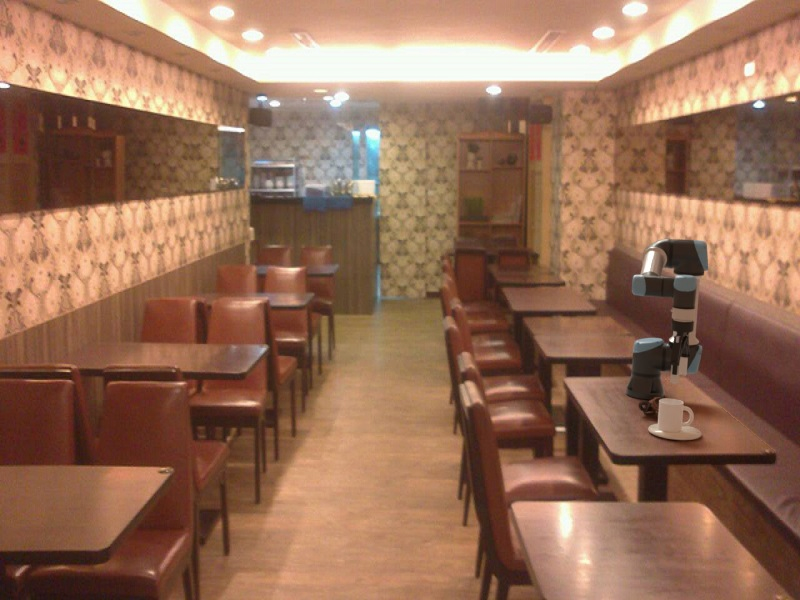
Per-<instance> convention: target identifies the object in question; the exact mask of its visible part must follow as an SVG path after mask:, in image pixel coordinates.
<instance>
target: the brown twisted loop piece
mask: <svg viewBox="0 0 800 600" xmlns="http://www.w3.org/2000/svg"><path fill="white" fill-rule="evenodd" d="M660 399H664V397H663V398H660V397H655V398H654V399H649V401H647V400H645V399H642V400H641V401H639V403H637V405H638V408H639V410H640V411H641V412H642V413H643V414H644V415H647V413H654V414H656V413H659V404H657V403H659V400H660ZM643 406H644V407H643ZM656 418H657V420H658V415H657V416H656Z"/></svg>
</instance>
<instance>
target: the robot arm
mask: <svg viewBox="0 0 800 600" xmlns="http://www.w3.org/2000/svg"><path fill="white" fill-rule="evenodd" d="M708 256H709V255H708V244H707V242H706V241H703V240H697V239H678V238H677V239H676V238H663V239H658V240H657V241H653V242H652V243H651V244H649V245H648V246H647V247H645V248H644V250H643V252H642V255H641V263H642V266H641V271H640V274H634V275H633V276H632V281H631V282H632V283H631V293H632V294H633V295H634V296H641V297H654V298H655V297H656V298H669V299H672V308H671V309H670V312H671V323H670V330H671V331H673V332H672V333H673V334H672V336H671V337H669V338H668V342H665V341H664V339H662V338H660V337H645V338H639V339H637V340H635V341H634V342H633V349H632V352H631V353H632V362H631V363H632V364H631V374H630V378H629V380H628V383H627V385H626V387H625V394H626V395H627V396H629V397H632V398H635V399H636V398H637V399H642V400H652V399H654V398H655V397H660V398H663V399H664V396H665V389H664V386H663V385H664V384H663V382H662V372H664V373H665V372H666V373H670V376H669V378H670V379H669V383H670V384H674V385H679V382H680V381H679V380H680V376H683V377H684V376H685V377H686V376H687V374H689V375H690V374H691V375H693V374H696V373H697V372H698V371H699V366H700V363H701V358H702V351H703V346H702V345H701V344H700V340H699V339H698V338H697V337H696V333H697V321H698V308H699V307H698V305H699V294H700V293H699V292H700V280H701V278H702V277H704V276H705V272H707V271H709V257H708ZM664 269H673V275H674V276H664V275H662V274H663V270H664Z"/></svg>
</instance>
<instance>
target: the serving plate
mask: <svg viewBox="0 0 800 600" xmlns="http://www.w3.org/2000/svg"><path fill="white" fill-rule="evenodd" d="M648 432H649V433H650V434H652V435H653V436H656V437H659V438H663V439H669V440H674V441H675V440H676V441H691V440H693V441H694V440H697V439H699V438H701V437H702V431H700V430H699V429H698V428H696V427H693V426H690V425H688V426H685V427H682V429H681V431H680V432H677V433H669V432H664V431H661V430H659V429H658V423H654V424H650V425H649V426H648Z"/></svg>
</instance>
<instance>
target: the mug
mask: <svg viewBox="0 0 800 600" xmlns="http://www.w3.org/2000/svg"><path fill="white" fill-rule="evenodd" d="M684 404H685V403H684V401H683V400H680V399H676V398H670V397H669V398H668V397H667V398H666V397H665V398H663V399H660V400H659V402H658V406H659V413H658V412H657V413H658V414H657V416H658V419H657V424H658V429H659V430H661V431H664V432H669V433H677V432H680V431H681V429H682V427H685V426H690V425H691V424H692V423H693V422H694V418H695V417H694V416H695V415H694V412H693V410H692V408H690V407H689V406H686V405H684ZM684 411H686V412H688V415H689V419H688V421H686V422H683V417H684Z"/></svg>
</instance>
